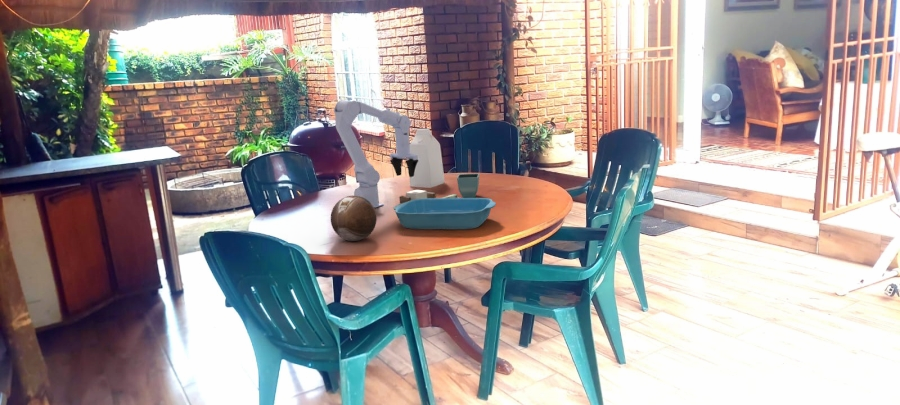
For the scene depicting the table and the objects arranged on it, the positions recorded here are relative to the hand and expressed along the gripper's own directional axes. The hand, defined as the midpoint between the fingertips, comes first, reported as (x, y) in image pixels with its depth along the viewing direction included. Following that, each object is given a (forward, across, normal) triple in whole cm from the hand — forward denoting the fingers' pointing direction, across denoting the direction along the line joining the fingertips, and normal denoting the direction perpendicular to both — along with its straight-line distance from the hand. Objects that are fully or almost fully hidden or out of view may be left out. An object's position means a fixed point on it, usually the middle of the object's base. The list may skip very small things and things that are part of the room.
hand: (405, 176), depth 267 cm
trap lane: (+10, -14, +2) cm, 18 cm away
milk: (+10, +13, -27) cm, 31 cm away
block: (+10, -8, +2) cm, 13 cm away
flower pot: (+10, -23, -14) cm, 29 cm away
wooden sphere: (+10, -30, +54) cm, 62 cm away
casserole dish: (+10, -42, +23) cm, 49 cm away
